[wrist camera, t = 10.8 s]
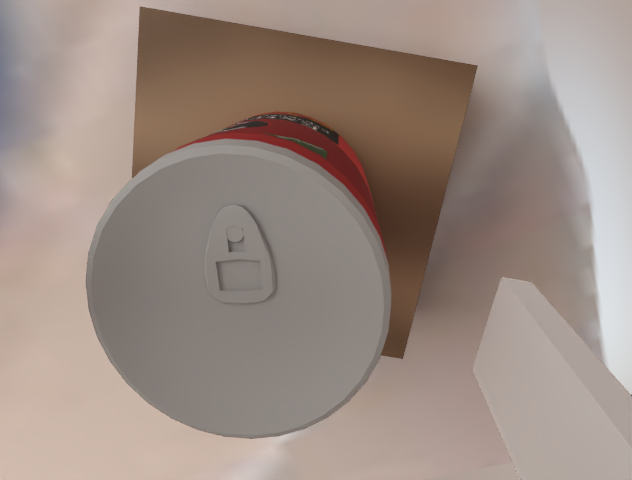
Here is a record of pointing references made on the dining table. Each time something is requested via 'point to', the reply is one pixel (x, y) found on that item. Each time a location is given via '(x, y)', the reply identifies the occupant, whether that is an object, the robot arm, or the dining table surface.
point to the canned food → (244, 278)
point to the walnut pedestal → (321, 104)
